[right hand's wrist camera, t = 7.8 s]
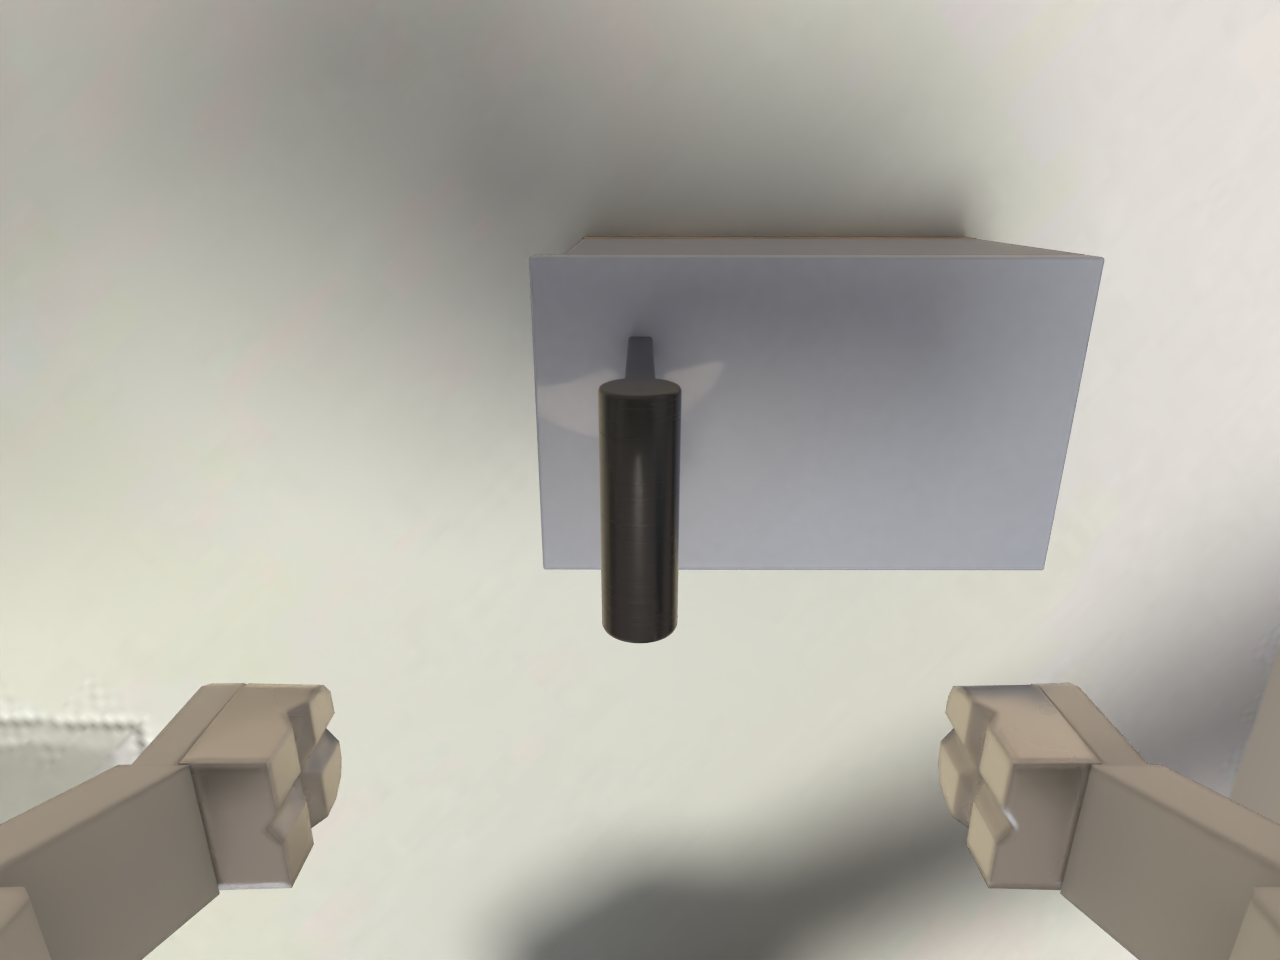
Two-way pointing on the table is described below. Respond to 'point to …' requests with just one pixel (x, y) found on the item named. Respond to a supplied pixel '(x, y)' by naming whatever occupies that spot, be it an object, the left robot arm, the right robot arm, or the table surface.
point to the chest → (800, 246)
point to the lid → (800, 414)
